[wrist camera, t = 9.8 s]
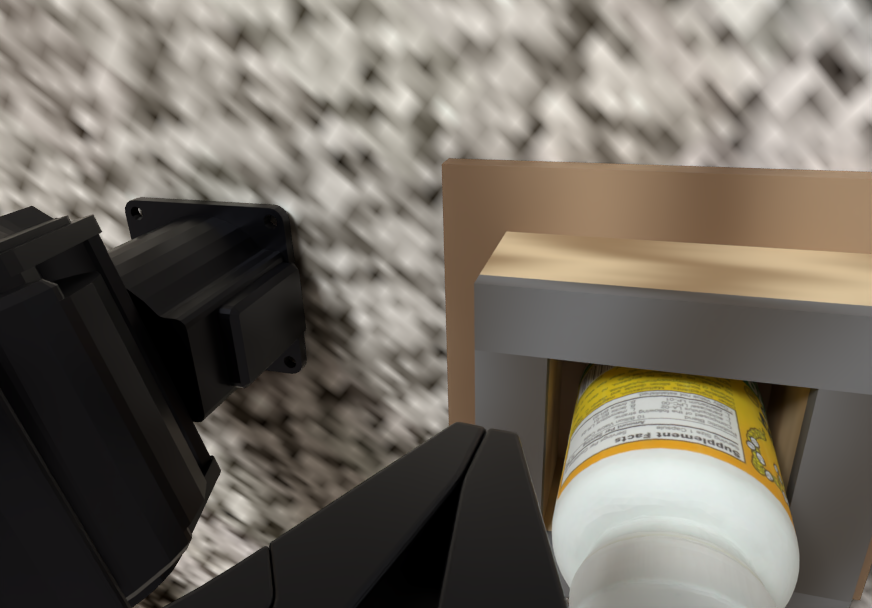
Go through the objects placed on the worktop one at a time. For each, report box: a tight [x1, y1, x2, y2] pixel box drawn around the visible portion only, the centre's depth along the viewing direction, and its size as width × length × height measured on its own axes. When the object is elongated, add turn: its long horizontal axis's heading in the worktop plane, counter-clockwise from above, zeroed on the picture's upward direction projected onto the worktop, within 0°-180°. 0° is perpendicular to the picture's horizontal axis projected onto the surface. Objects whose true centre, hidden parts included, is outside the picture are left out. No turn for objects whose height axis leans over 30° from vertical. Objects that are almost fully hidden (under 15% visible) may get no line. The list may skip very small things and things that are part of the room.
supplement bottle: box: [552, 363, 799, 608], centre depth 17 cm, size 5×5×10 cm
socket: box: [442, 158, 872, 608], centre depth 20 cm, size 14×14×5 cm
